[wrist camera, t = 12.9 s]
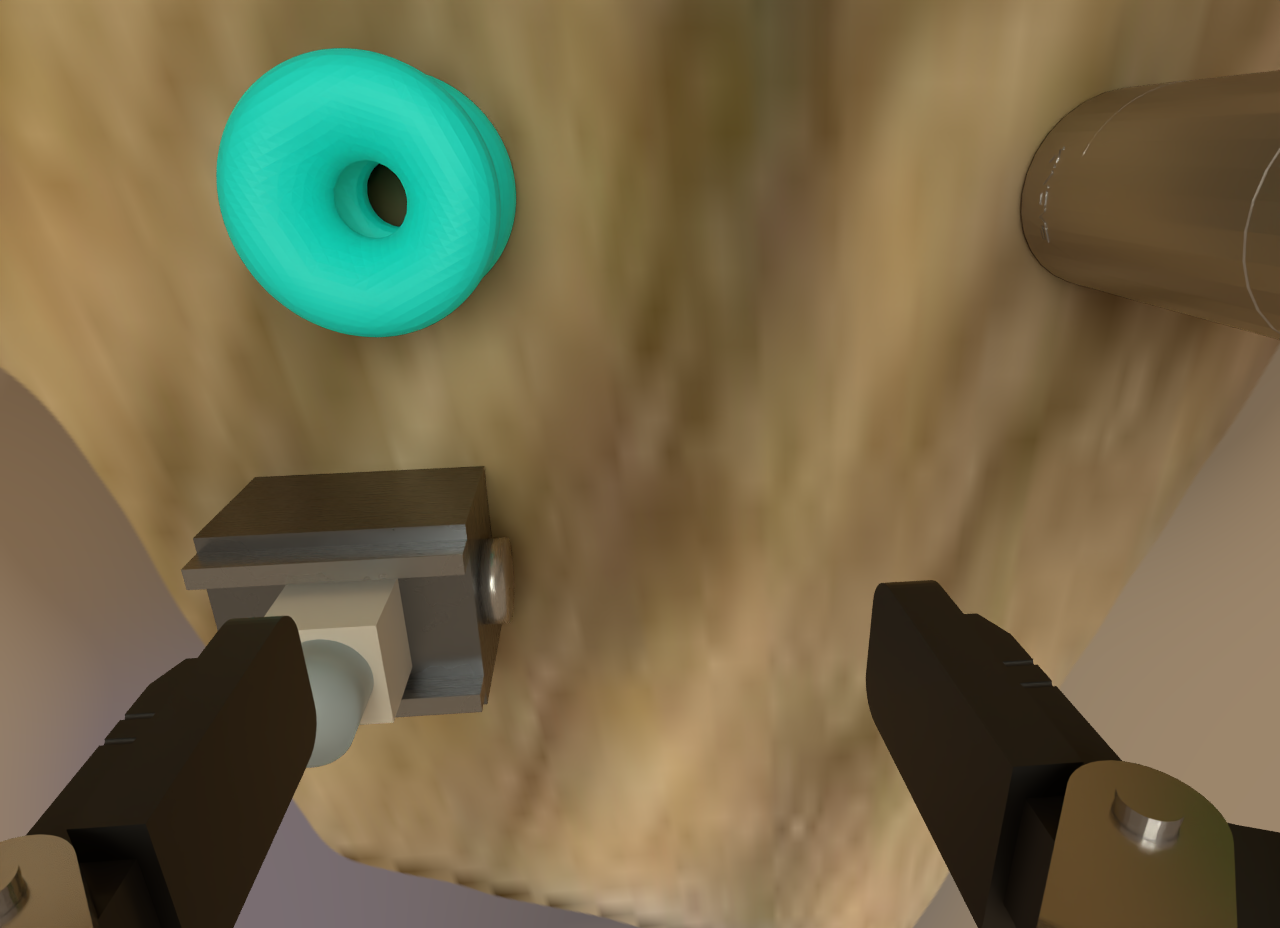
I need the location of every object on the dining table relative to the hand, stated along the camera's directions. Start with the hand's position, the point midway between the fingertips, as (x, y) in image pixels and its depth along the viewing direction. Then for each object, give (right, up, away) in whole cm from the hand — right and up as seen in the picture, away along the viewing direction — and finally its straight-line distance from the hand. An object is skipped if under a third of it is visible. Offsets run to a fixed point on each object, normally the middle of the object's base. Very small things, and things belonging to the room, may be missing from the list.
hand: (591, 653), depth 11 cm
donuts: (-10, +15, +26) cm, 32 cm away
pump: (-13, -5, +26) cm, 30 cm away
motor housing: (-13, -2, +33) cm, 35 cm away
